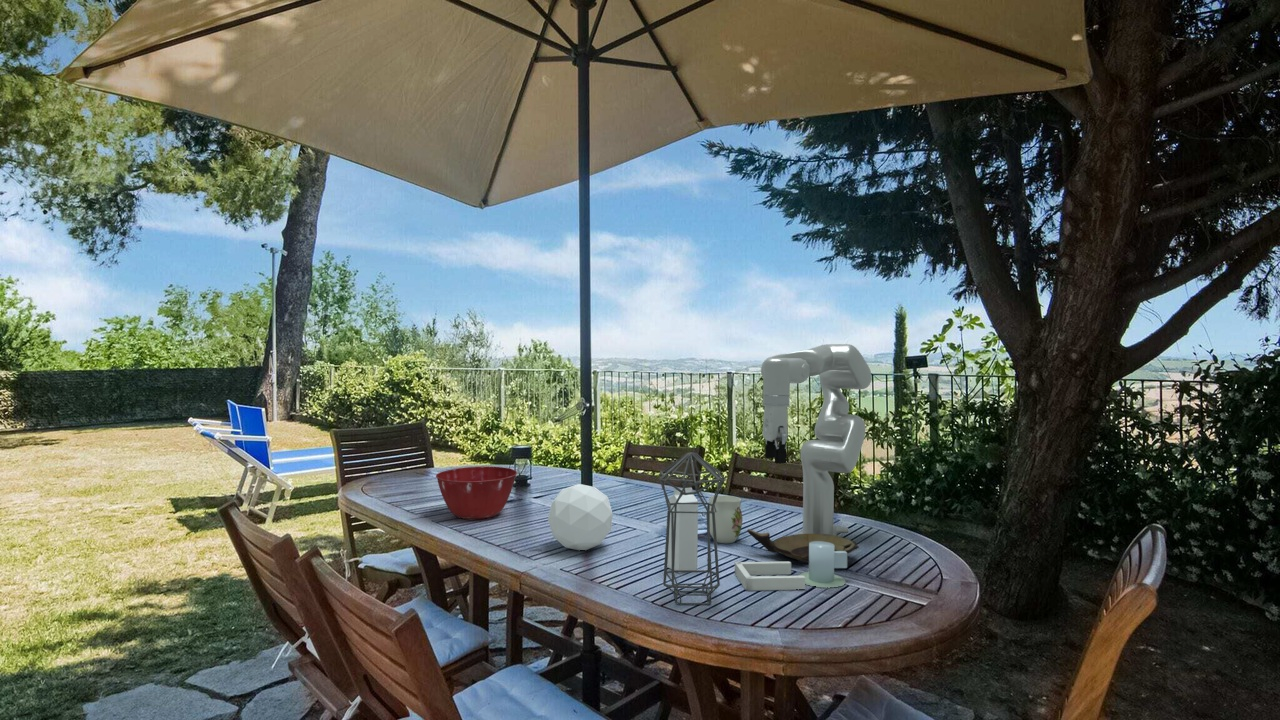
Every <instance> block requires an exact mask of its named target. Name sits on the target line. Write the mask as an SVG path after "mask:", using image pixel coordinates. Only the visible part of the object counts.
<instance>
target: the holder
mask: <svg viewBox="0 0 1280 720" xmlns="http://www.w3.org/2000/svg"><path fill="white" fill-rule="evenodd" d="M734 575H735V576H736V578H737V579H738V581H739V582H740V584H741V585H742V586H743V588H744V590H745V591H746V592H748V591H749V592H750V591H789V590H790V591H797V590H796V589H798V591H799V589H805V590H806V585H805V577H804V576H798V575H792V562H791V561H735V562H734Z"/></svg>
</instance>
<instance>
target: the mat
mask: <svg viewBox="0 0 1280 720" xmlns="http://www.w3.org/2000/svg"><path fill="white" fill-rule="evenodd" d="M797 576H804V577H805V584H806V585H805V586H808V585H810V586H809V587H812V586H816V587H815V588H817V587H826V588H825V589H831V588H830V587H838V586H842V585H844V584H845V585H846V579H845V578H843V577H842V576H840V575H838V574H835V573H834V581H833V582H831V583H818V582H814V581H811V580H810V579H809V571H806V572H802V573H799V574H798V575H797ZM845 585H844V586H845ZM827 587H828V588H827ZM842 587H843V586H842Z"/></svg>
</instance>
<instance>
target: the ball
mask: <svg viewBox="0 0 1280 720" xmlns="http://www.w3.org/2000/svg"><path fill="white" fill-rule="evenodd" d="M613 516H614V515H613V510H612V507H611V503H610V500H609V497H608V495H606V494H605V493H603V492H602V491H601V490H599V489H598V488H596V487H595V486H591V485H586V484H582V483H581V484H580V483H577V484H574V485H571V486H568V487H565V488H563V489H561V490H560V491H559V493H558V494H557V496H556V497H555V498H554V500H553V501H552V502H551V504H550V508H549V513H548V517H547V520H548V524H549V528H550V531H551V534H552V537H553V538H554V539H555V540H556V541H557V542H558V543H560V544H561V545H562V546H563V547H565V548H567V549H572V550H574V551H575V550H576V551H580V550H585V551H587V550H590V549H592V548H595V547H597V546H600V545H601V544H602V542H603V541H604V540H605V539H606V538H607V536H608V535H609V533H610V532H611V531H612V523H613Z"/></svg>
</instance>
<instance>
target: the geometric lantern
mask: <svg viewBox="0 0 1280 720" xmlns="http://www.w3.org/2000/svg"><path fill="white" fill-rule="evenodd" d="M696 461H697V462H698V463H699V464H700V465H701V466H702V468H703V469H705V470H702V471H700V470H699V467H698V465H697V462H696ZM685 462H686V463H685ZM683 463H685V468H684V470H683V471H684V472H682V471H677V470H678V469H679V468H680V467H681V466H682V465H683ZM690 465H691V473H689V472H690ZM695 470H696V473H695ZM721 473H722V471H721V470H720V469H718V468H717V467H715V466H714V465H712V464H711V463H709V462H708V461H707V460H705V459H704V458H702V456H700V455H699V454H698V453H697V452H692V451H691V452H687V453H685V454H684V455H682V456H681V457H680V458H677V459H676V460H675V461H673V462H672V463H671V464H669V465H667V466H665V467H664V468H663V469H662V470H660V471H659V476H660V477H659V478H658V479H659V483H660V485H661V489H662V490H663V495H664V499H665V502H666V507H667V513H666V531H665V532H666V533H665V547H664V565H663V566H664V568H663V582H662V585H663V587H666V588H667V589H668V590H670V592H672V594H673V596H674V600H675V601H676V602H675V604H676V603H678V604H677V605H680V604H692V605H693V606H694V604H695V605H697V606H700V605H702V606H704V605H705V606H710V604H712V594H713V593H714V592H715V591H716V590H717V589H718V588H719V587H720V586H721V581H720V580H721V579H720V569H719V555H718V542H717V538H716V524H715V512H717V511H716V508H715V502H716V499H717V497H718V496H719V493H720V492H722V491H723V482H727V478H726V477H724V476H723V475H722V474H721ZM674 474H676V475H683V476H682V478H680V477H678V476H676V475H674ZM701 474H707V475H705V476H704V477H703V478H701ZM668 475H669V476H668ZM686 476H687V477H686ZM710 476H712V477H714V478H715V479H708V478H709V477H710ZM670 477H672V478H670ZM690 477H692V478H693V479H690ZM696 477H698V479H697V480H696ZM706 479H708V480H706ZM665 482H666V483H667V484H668V485H669V486H671V487H672V488H674V490H675V489H676V490H678V491H679V492H680V495H679V497H678V499H677V501H676V503H670V502H669V497H668V494H667V491H666V486H665ZM672 482H674V483H675V482H677V483H680V484H681V485H682V488H683V489H682V488H679V487H678V486H676V485H675V484H674V483H672ZM706 483H709V484H706ZM701 484H706V485H705V486H703V487H702V488H699V487H698V486H699V485H701ZM714 484H716V490H715V492H714V495H713V496H714V499H713V503H712V504H710V502H708V501H707V499H706V498H705V496H704V495H703V492H702V491H704V490H706V489H707V488H710V487H711V486H713V485H714ZM687 486H694V487H695V489H694V490H695V491H692V492H688V493H686V492H685V488H687ZM680 489H682V490H680ZM683 491H684V492H683ZM691 494H693V495H697V496H698V498H699V500H700V502H698V503H678V501H679V500H680V498H681V497H682V495H691ZM677 504H698V505H703V508H704V509H705V510H706V511H698V512H685V511H677ZM671 505H674V506H673V507H672V509H671ZM710 506H712V507H711V511H710ZM674 507H675V511H672V510H673V508H674ZM714 510H715V512H714ZM670 513H671V547H672V569H671V570H668V545H669V528H670ZM676 513H698V514H705V515H706V518H705V519H706V530H707V532H706V533H707V536H706V537H707V569H699V570H698V569H697V570H674V561H675V537H676ZM710 513H712V522H713V536H714V539H713V548H714V550H713V551H714V563H715V571H714V570H712V553H711V551H712V550H711V534H710ZM677 572H684V573H707V574H706V576H705V578H704V582H697V583H696V582H695V583H692V582H691V583H678V580H677V578H676V574H675V573H677ZM669 574H671V577H670V575H669ZM713 575H714V577H713ZM667 577H668V579H669V580H670V581H671V584H667ZM708 577H709V581H708V582H707V583H706V581H707V579H708ZM715 579H716V583H717V584H715V585H713V582H714V580H715ZM672 588H673V589H672ZM679 589H693V590H679ZM694 589H698V590H694ZM678 596H679V600H678ZM682 596H689V597H690V596H693V597H694V596H701V597H704V596H705V597H706V602H682ZM678 601H679V602H678Z"/></svg>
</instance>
